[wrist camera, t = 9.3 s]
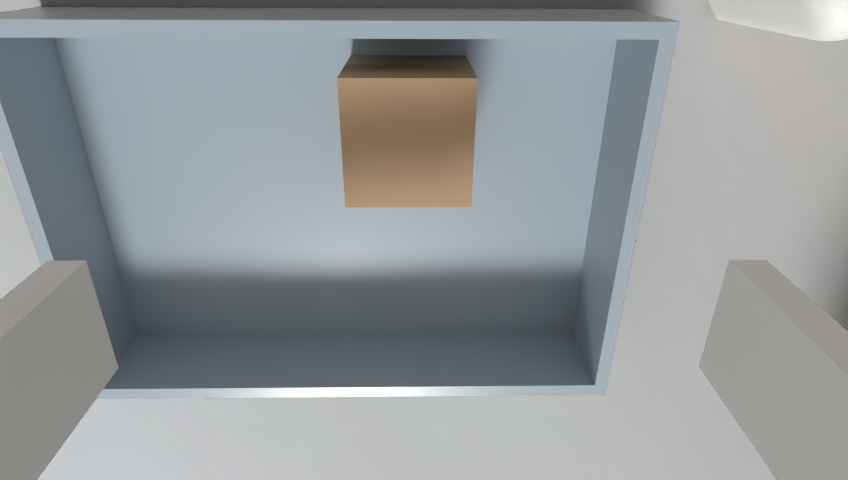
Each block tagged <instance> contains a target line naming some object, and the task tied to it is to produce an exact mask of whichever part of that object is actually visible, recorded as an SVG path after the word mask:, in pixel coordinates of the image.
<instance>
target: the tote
mask: <svg viewBox="0 0 848 480" xmlns="http://www.w3.org/2000/svg"><path fill="white" fill-rule="evenodd" d="M678 27H679V22H678V21H674V20H671V19H667V18H663V17H659V16H655V15H652V14H648V13H644V12H640V11H636V10H632V9H493V8H251V7H34V8H28V9H21V10H14V11H7V12H0V149H1V152H2V155H3V158H4V161H5V164H6V166H7V169H8V172H9V175H10V178H11V181H12V183H13V186H14V189H15V192H16V195H17V198H18V201H19V203H20V206H21V209H22V212H23V215H24V218H25V221H26V223H27V226H28V229H29V232H30V235H31V238H32V241H33V243H34V246H35V249H36V252H37V255H38V258H39V260H40V263H41V266H42V265H43V264H44V263H46V262H47V261H86V262H87V266H88V269H89V272H90V275H91V279H92V282H93V285H94V289H95V292H96V295H97V298H98V302H99V305H100V308H101V312H102V315H103V318H104V322H105V325H106V328H107V331H108V335H109V338H110V341H111V345H112V348H113V351H114V355H115V358H116V361H117V364H118V369H117V371H116V372H115V374H114V375H113V376H112V378H111V379H110V380H109V382H108V383H107V385H106V386H105V387H104V389H103V390H102V391H101V393H100V394H99V395H98V397H97V398H96V399H135V398H257V397H380V396H503V395H605V394H606V389H607V384H608V379H609V374H610V369H611V364H612V359H613V354H614V349H615V344H616V339H617V334H618V329H619V324H620V319H621V314H622V309H623V304H624V298H625V293H626V288H627V283H628V278H629V273H630V268H631V263H632V258H633V253H634V248H635V243H636V238H637V233H638V228H639V223H640V218H641V213H642V208H643V203H644V198H645V193H646V188H647V183H648V178H649V173H650V168H651V163H652V158H653V153H654V148H655V143H656V138H657V133H658V128H659V123H660V118H661V113H662V108H663V103H664V98H665V93H666V87H667V82H668V77H669V72H670V67H671V62H672V57H673V52H674V47H675V42H676V37H677V32H678ZM351 55H466V56H467V58H468V60H469V62H470V64H471V66H472V68H473V70H474V72H475V74H476V76H477V78H478V84H477V105H476V125H475V146H474V167H473V188H472V207H345V196H344V180H343V165H342V149H341V133H340V118H339V102H338V86H337V77H338V75H339V74H340V72H341V71H342V69H343V67H344V66H345V64H346V62H347V61H348V59H349V57H350V56H351Z"/></svg>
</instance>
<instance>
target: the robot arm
mask: <svg viewBox="0 0 848 480" xmlns="http://www.w3.org/2000/svg"><path fill="white" fill-rule="evenodd" d="M699 367H700V369H701V370H702V372H703V373H704V375H705V376H706V377H707V379H708V380H709V382H710V383H711V385H712V386H713V388H714V389H715V391H716V392H717V393H718V395H719V396H720V398H721V399H722V401H723V402H724V404H725V405H726V407H727V408H728V410H729V411H730V412H731V414H732V415H733V417H734V418H735V420H736V421H737V423H738V424H739V426H740V427H741V428H742V430H743V431H744V433H745V434H746V436H747V437H748V439H749V440H750V442H751V443H752V445H753V446H754V447H755V449H756V450H757V452H758V453H759V455H760V456H761V458H762V459H763V461H764V462H765V463H766V465H767V466H768V468H769V469H770V471H771V472H772V474H773V475H774V477H775V478H776V480H848V331H847V330H846V329H845V328H843V327H842V326H841V325H840V324H839V323H838V322H837V321H835V320H834V319H833V318H832V317H831V316H830V315H829V314H827V313H826V312H825V311H824V310H823V309H822V308H821V307H819V306H818V305H817V304H816V303H815V302H814V301H812V300H811V299H810V298H809V297H808V296H807V295H806V294H804V293H803V292H802V291H801V290H800V289H799V288H798V287H796V286H795V285H794V284H793V283H792V282H791V281H790V280H788V279H787V278H786V277H785V276H784V275H783V274H781V273H780V272H779V271H778V270H777V269H776V268H775V267H773V266H772V265H771V264H770V263H769V262H768V261H767V260H729V262H728V266H727V270H726V273H725V277H724V280H723V284H722V287H721V291H720V294H719V298H718V301H717V305H716V308H715V312H714V315H713V319H712V322H711V326H710V329H709V333H708V336H707V340H706V344H705V347H704V351H703V354H702V358H701V361H700V365H699ZM117 369H118V364H117V361H116V358H115V355H114V351H113V348H112V345H111V341H110V338H109V335H108V331H107V328H106V325H105V322H104V318H103V315H102V312H101V308H100V305H99V302H98V298H97V295H96V292H95V289H94V285H93V282H92V279H91V275H90V272H89V269H88V266H87V262H86V261H47V262H46V263H44V264H43V265H42V266H41V267H39V268H38V269H37V270H36V271H35V272H33V273H32V274H31V275H30V276H29V277H27V278H26V279H25V280H24V281H22V282H21V283H20V284H19V285H18V286H16V287H15V288H14V289H13V290H11V291H10V292H9V293H8V294H7V295H5V296H4V297H3V298H2V299H0V480H37V479H38V478H39V477H40V475H41V474H42V472H43V471H44V470H45V468H46V467H47V466H48V464H49V463H50V461H51V460H52V459H53V457H54V456H55V455H56V453H57V452H58V450H59V449H60V448H61V446H62V445H63V444H64V442H65V441H66V439H67V438H68V437H69V435H70V434H71V433H72V431H73V430H74V428H75V427H76V426H77V424H78V423H79V422H80V420H81V419H82V417H83V416H84V415H85V413H86V412H87V411H88V409H89V408H90V406H91V405H92V404H93V402H94V401H95V400H96V398H97V397H98V395H99V394H100V393H101V391H102V390H103V389H104V387H105V386H106V385H107V383H108V382H109V380H110V379H111V378H112V376H113V375H114V374H115V372H116V371H117Z"/></svg>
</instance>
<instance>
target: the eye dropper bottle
mask: <svg viewBox="0 0 848 480" xmlns="http://www.w3.org/2000/svg"><path fill="white" fill-rule="evenodd" d="M708 2H709V5H710V7H711V10H712V12H713V14H714V15H715V17H716V18H717V19H718V20H722V21H726V22H731V23H735V24H740V25H745V26H749V27H754V28H758V29H763V30H768V31H772V32H777V33H782V34H786V35H791V36H796V37H801V38H807V39H812V40H818V41H838V40H845V39H848V0H708Z"/></svg>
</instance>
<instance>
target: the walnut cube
mask: <svg viewBox="0 0 848 480" xmlns="http://www.w3.org/2000/svg"><path fill="white" fill-rule="evenodd" d="M477 84H478V78H477V76H476V74H475V72H474V70H473V68H472V66H471V64H470V62H469V60H468V58H467V56H466V55H351V56H350V57H349V59H348V61H347V62H346V64H345V66H344V67H343V69H342V71H341V72H340V74H339V75H338V77H337V86H338V102H339V118H340V133H341V149H342V165H343V180H344V196H345V207H472V188H473V167H474V146H475V125H476V105H477Z"/></svg>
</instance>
